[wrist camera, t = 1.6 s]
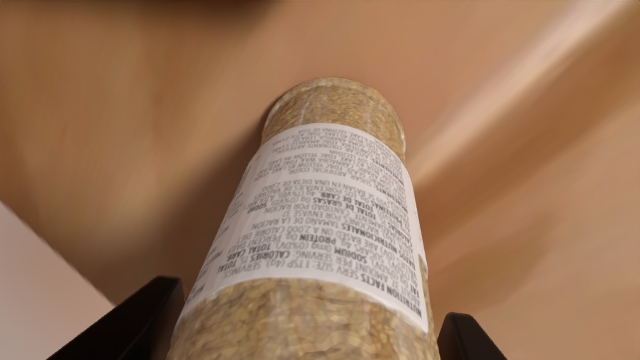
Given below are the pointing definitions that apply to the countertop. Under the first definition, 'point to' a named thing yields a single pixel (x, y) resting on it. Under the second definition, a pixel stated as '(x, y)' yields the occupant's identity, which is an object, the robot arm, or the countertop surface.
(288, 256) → the sprinkles bottle
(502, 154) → the countertop surface
